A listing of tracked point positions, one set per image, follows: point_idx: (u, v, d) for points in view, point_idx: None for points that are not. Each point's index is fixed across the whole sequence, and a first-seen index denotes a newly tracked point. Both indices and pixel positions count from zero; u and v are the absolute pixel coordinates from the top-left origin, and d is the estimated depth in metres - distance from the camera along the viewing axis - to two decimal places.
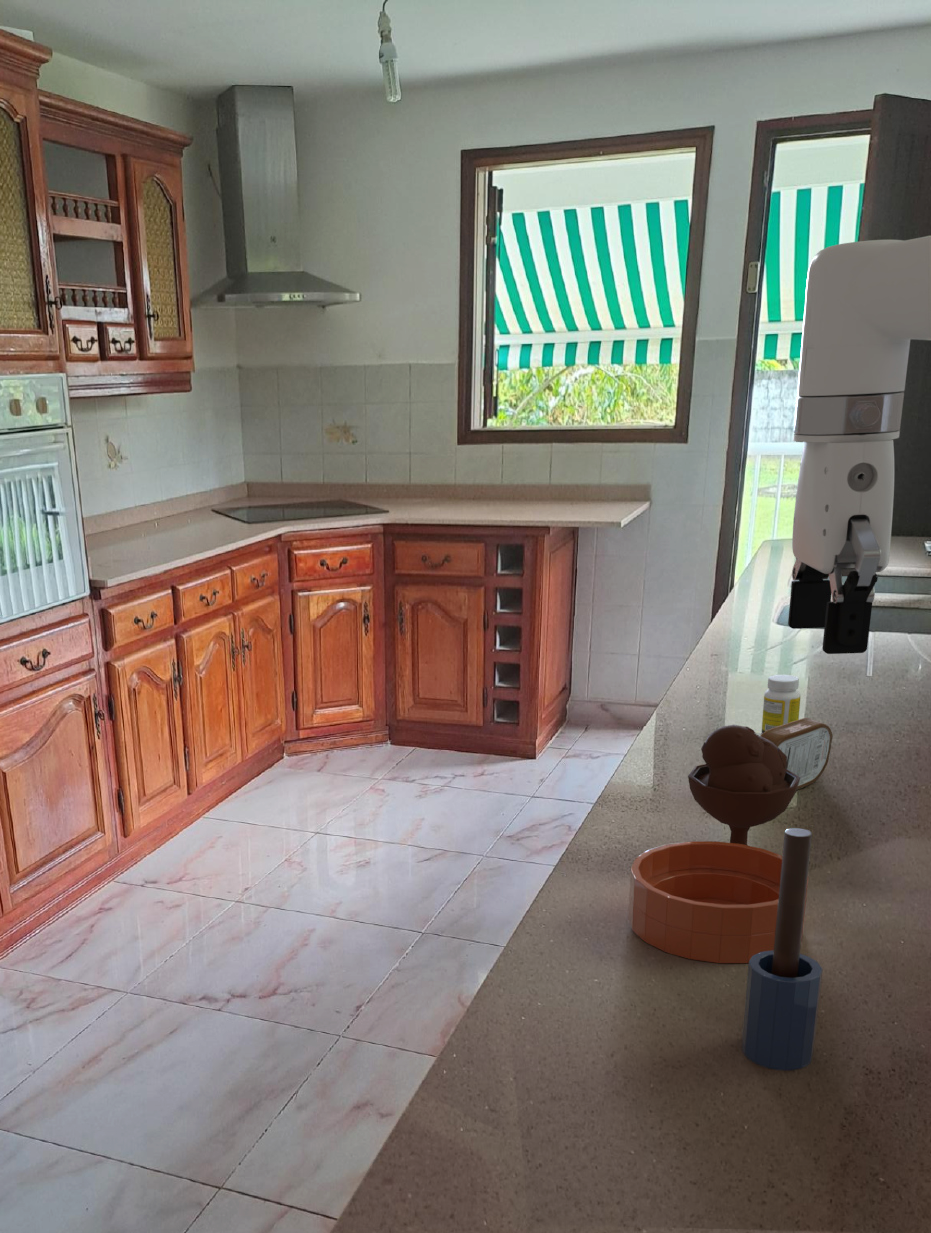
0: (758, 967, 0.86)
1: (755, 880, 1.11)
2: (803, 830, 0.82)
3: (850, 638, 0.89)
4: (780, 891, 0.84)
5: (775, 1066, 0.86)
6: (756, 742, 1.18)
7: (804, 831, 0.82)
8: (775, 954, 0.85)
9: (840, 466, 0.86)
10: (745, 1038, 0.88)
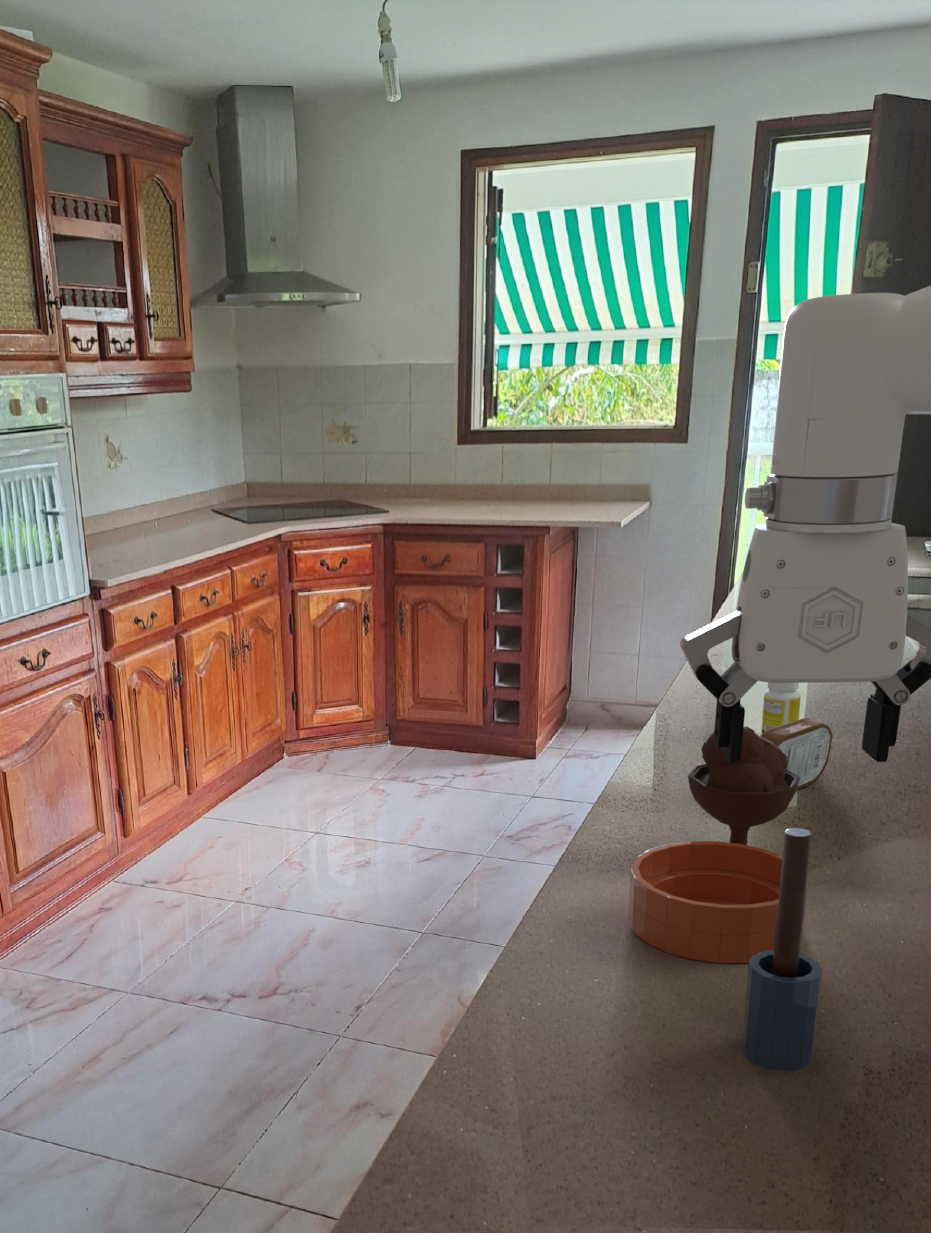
0: (758, 967, 0.86)
1: (755, 880, 1.11)
2: (803, 830, 0.82)
3: (716, 739, 0.81)
4: (780, 891, 0.84)
5: (775, 1066, 0.86)
6: (756, 742, 1.18)
7: (804, 831, 0.82)
8: (775, 954, 0.85)
9: None
10: (745, 1038, 0.88)
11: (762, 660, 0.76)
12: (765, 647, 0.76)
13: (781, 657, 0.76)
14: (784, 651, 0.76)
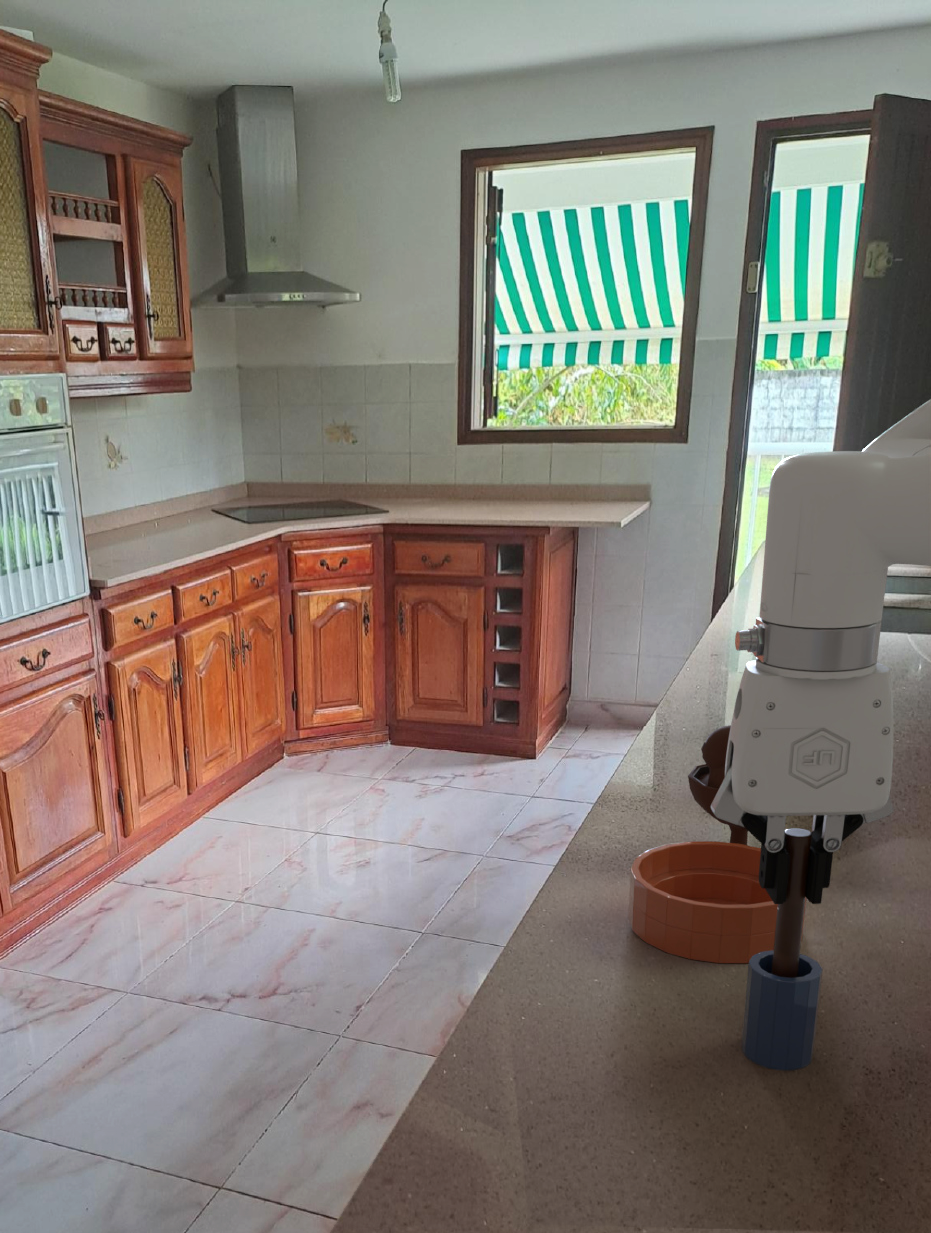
0: (758, 967, 0.86)
1: (755, 880, 1.11)
2: (803, 830, 0.82)
3: (761, 880, 0.84)
4: None
5: (775, 1066, 0.86)
6: None
7: (804, 831, 0.82)
8: (775, 954, 0.85)
9: None
10: (745, 1038, 0.88)
11: (754, 795, 0.79)
12: (757, 783, 0.79)
13: (772, 793, 0.79)
14: (775, 787, 0.78)
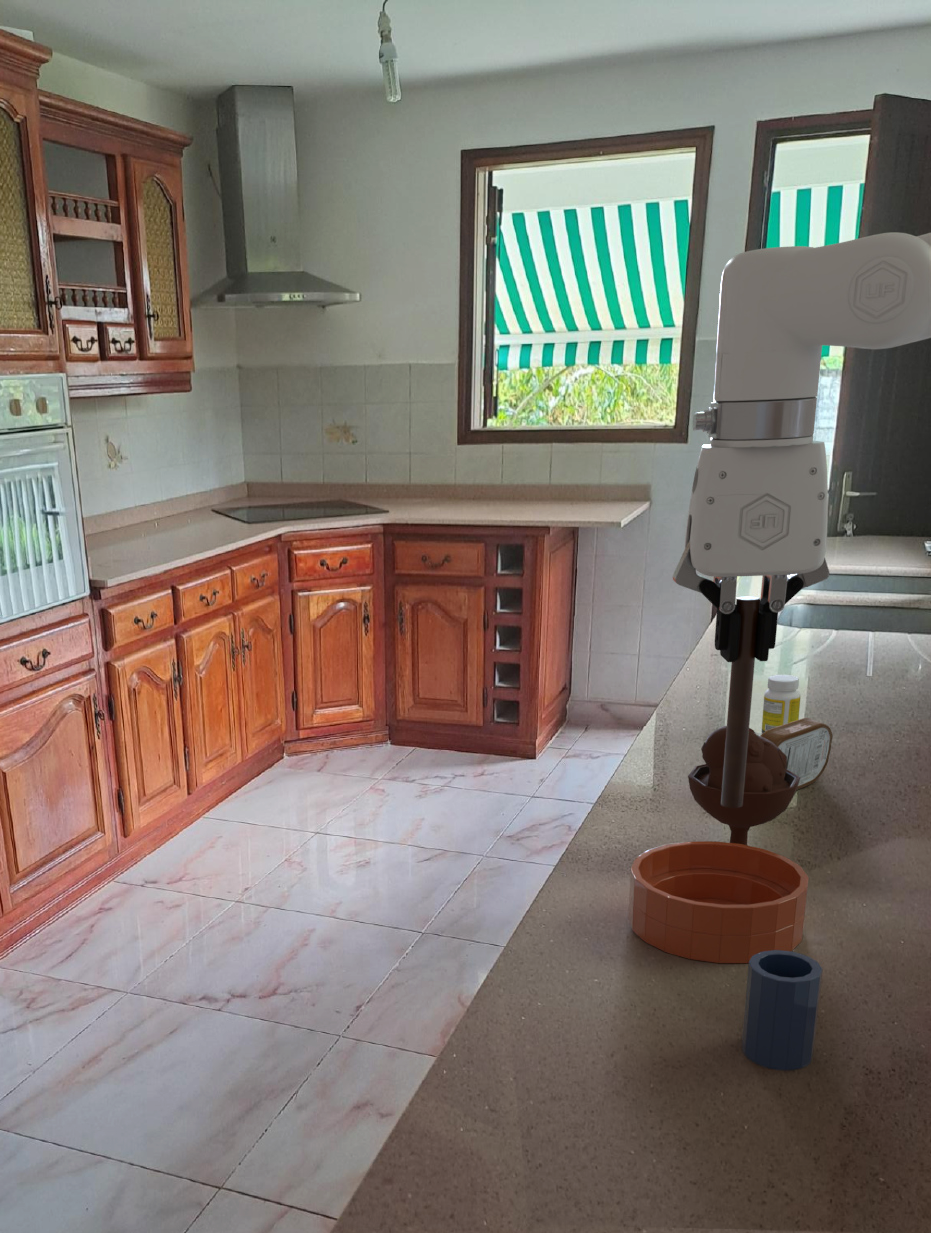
0: (758, 967, 0.86)
1: (755, 880, 1.11)
2: (752, 597, 0.95)
3: (717, 643, 0.96)
4: None
5: (775, 1066, 0.86)
6: (756, 742, 1.18)
7: (753, 597, 0.95)
8: (729, 712, 0.98)
9: None
10: (745, 1038, 0.88)
11: (709, 557, 0.91)
12: (711, 546, 0.91)
13: (725, 554, 0.91)
14: (727, 549, 0.91)
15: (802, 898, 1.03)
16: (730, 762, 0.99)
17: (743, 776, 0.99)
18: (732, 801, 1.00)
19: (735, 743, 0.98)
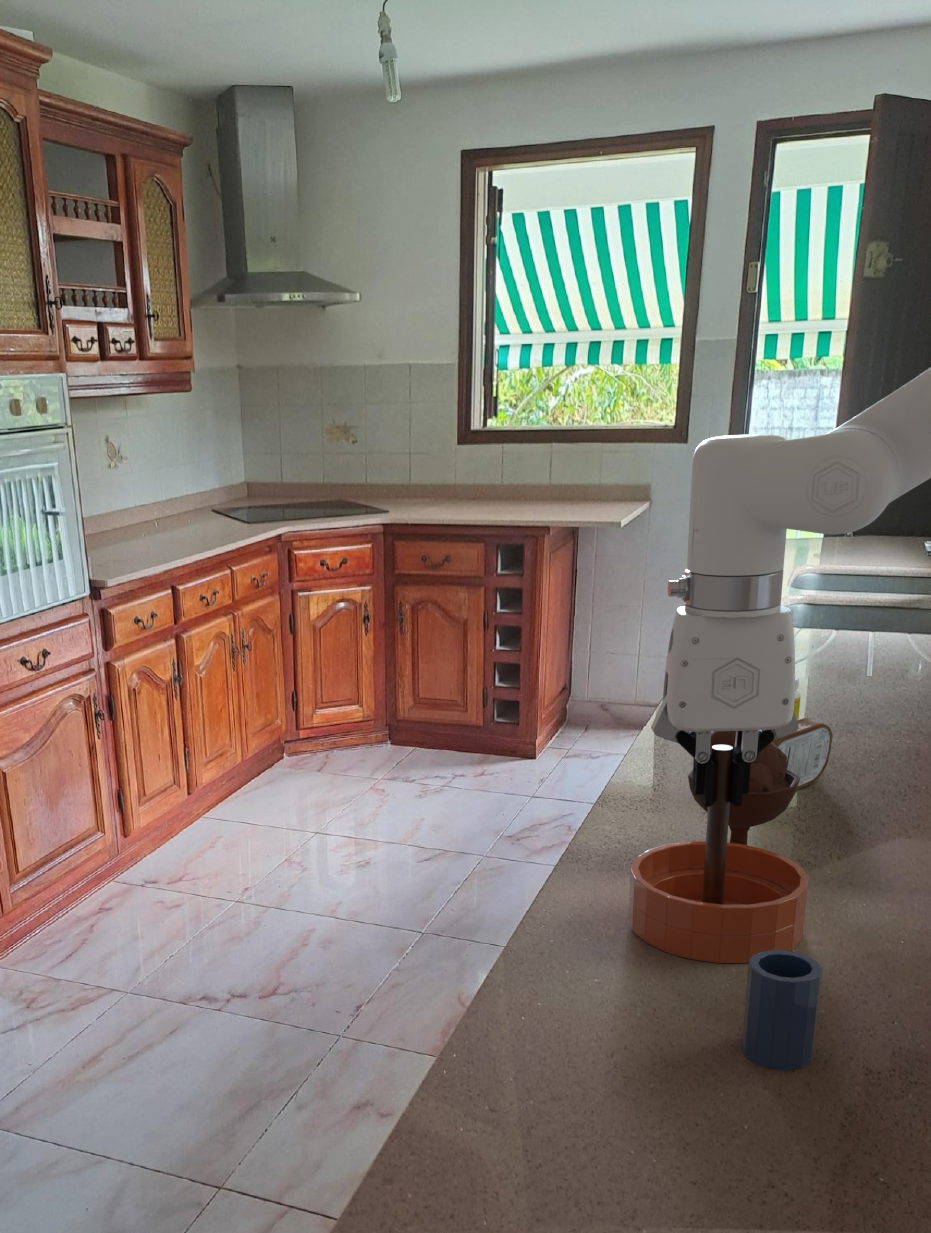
0: (758, 967, 0.86)
1: (755, 880, 1.11)
2: (727, 746, 1.01)
3: (694, 788, 1.02)
4: None
5: (775, 1066, 0.86)
6: None
7: (727, 746, 1.01)
8: (706, 850, 1.04)
9: None
10: (745, 1038, 0.88)
11: (684, 714, 0.97)
12: (686, 704, 0.97)
13: (698, 712, 0.97)
14: (700, 707, 0.97)
15: (802, 898, 1.03)
16: (707, 896, 1.05)
17: None
18: None
19: (712, 879, 1.04)
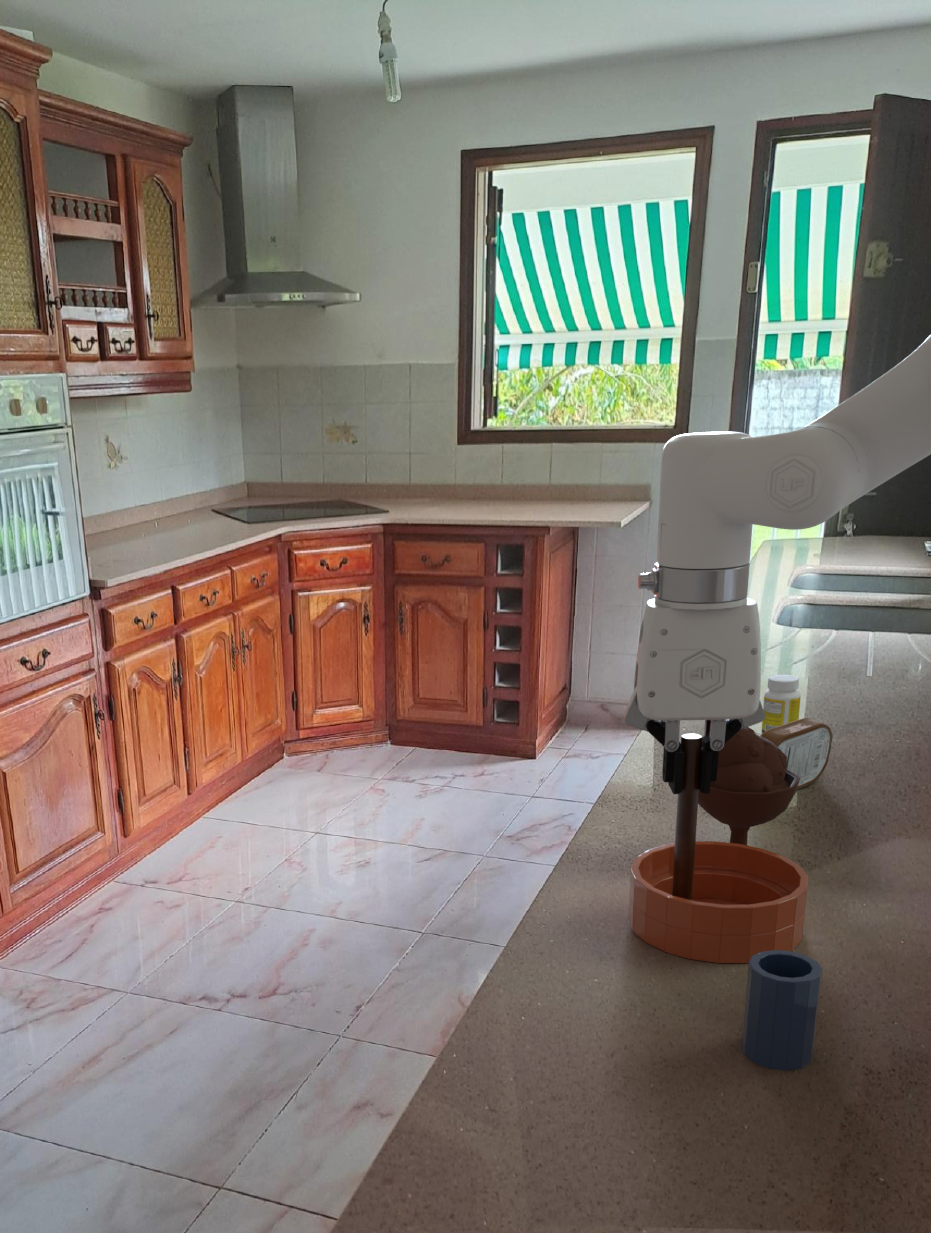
0: (758, 967, 0.86)
1: (755, 880, 1.11)
2: (696, 735, 1.04)
3: (664, 775, 1.05)
4: None
5: (775, 1066, 0.86)
6: (756, 742, 1.18)
7: (696, 735, 1.03)
8: (676, 836, 1.07)
9: None
10: (745, 1038, 0.88)
11: (653, 704, 1.00)
12: (655, 694, 1.00)
13: (667, 701, 1.00)
14: (669, 697, 0.99)
15: (802, 898, 1.03)
16: (677, 881, 1.08)
17: (690, 894, 1.08)
18: None
19: (681, 864, 1.07)
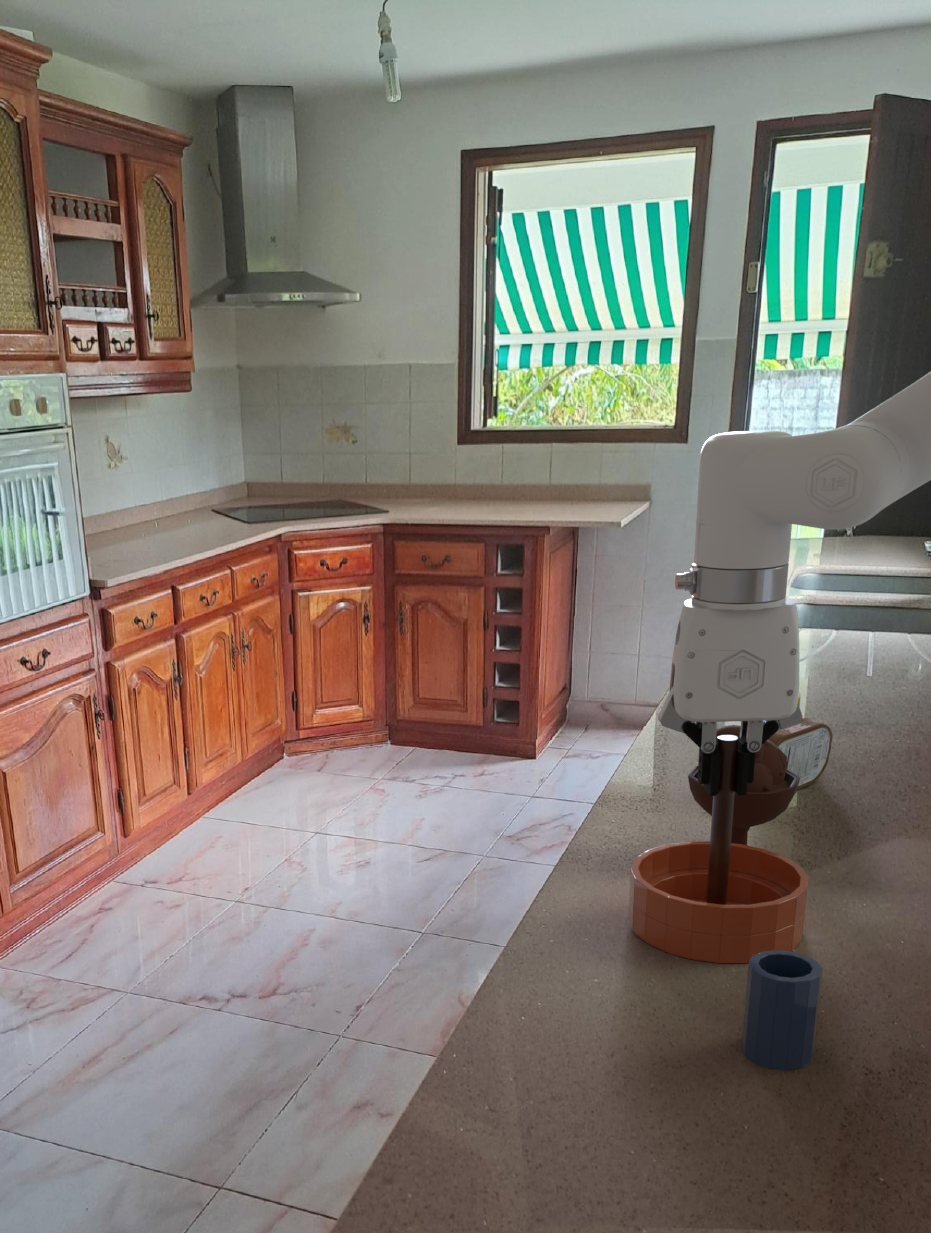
0: (758, 967, 0.86)
1: (755, 880, 1.11)
2: (732, 736, 1.03)
3: (699, 777, 1.04)
4: None
5: (775, 1066, 0.86)
6: None
7: (732, 737, 1.03)
8: (711, 838, 1.06)
9: None
10: (745, 1038, 0.88)
11: (690, 705, 0.99)
12: (692, 695, 0.99)
13: (705, 702, 0.99)
14: (707, 698, 0.99)
15: (802, 898, 1.03)
16: (712, 883, 1.07)
17: (725, 897, 1.07)
18: None
19: (717, 867, 1.06)
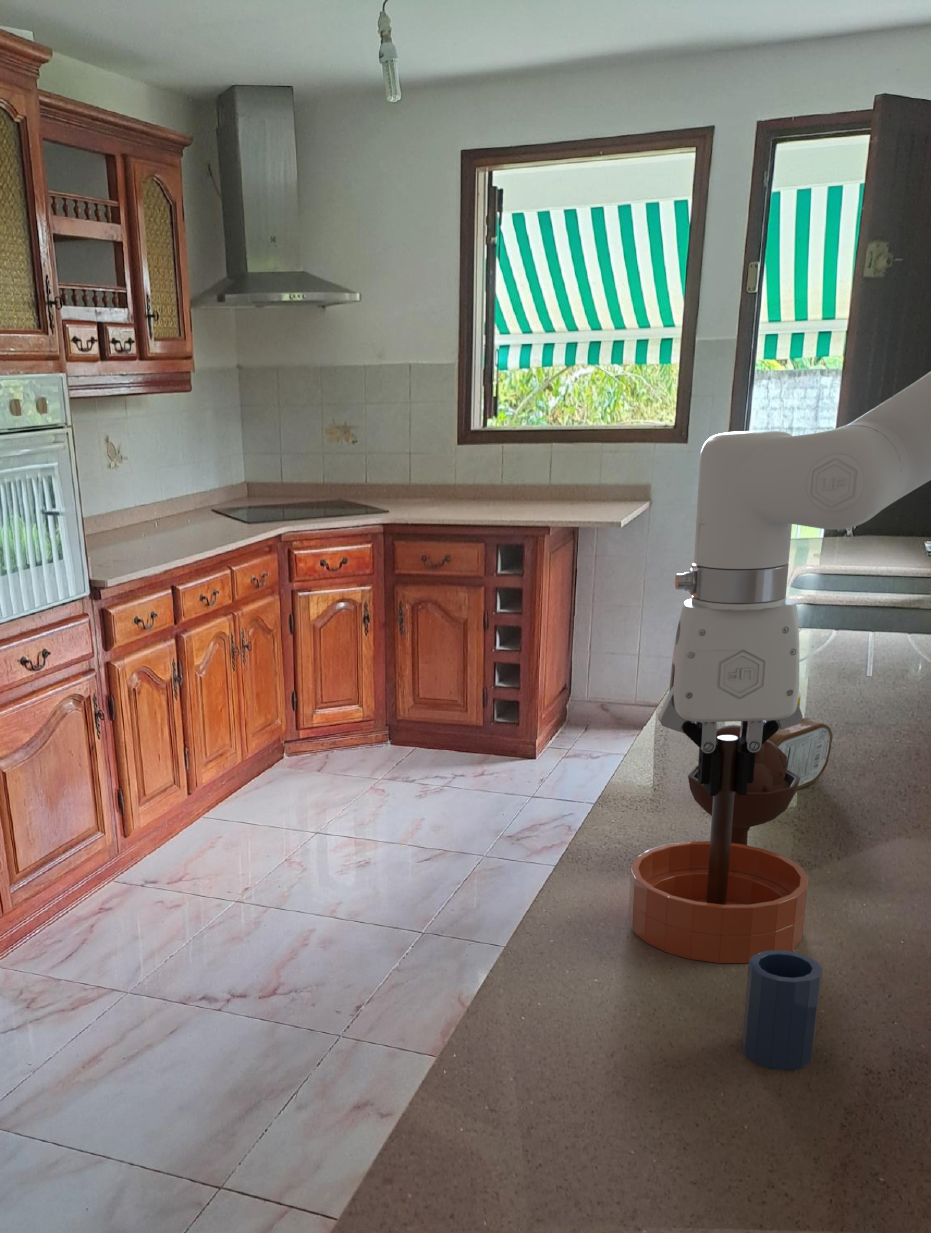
0: (758, 967, 0.86)
1: (755, 880, 1.11)
2: (732, 736, 1.03)
3: (699, 777, 1.04)
4: None
5: (775, 1066, 0.86)
6: None
7: (732, 737, 1.03)
8: (711, 838, 1.06)
9: None
10: (745, 1038, 0.88)
11: (690, 705, 0.99)
12: (692, 695, 0.99)
13: (705, 702, 0.99)
14: (707, 698, 0.99)
15: (802, 898, 1.03)
16: (712, 883, 1.07)
17: (725, 897, 1.07)
18: None
19: (717, 867, 1.06)
